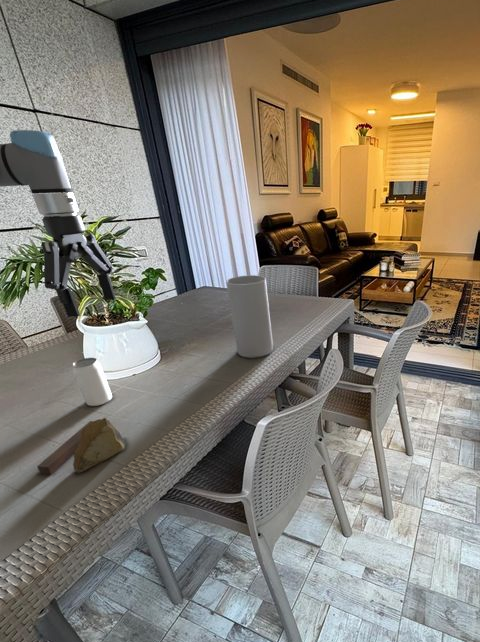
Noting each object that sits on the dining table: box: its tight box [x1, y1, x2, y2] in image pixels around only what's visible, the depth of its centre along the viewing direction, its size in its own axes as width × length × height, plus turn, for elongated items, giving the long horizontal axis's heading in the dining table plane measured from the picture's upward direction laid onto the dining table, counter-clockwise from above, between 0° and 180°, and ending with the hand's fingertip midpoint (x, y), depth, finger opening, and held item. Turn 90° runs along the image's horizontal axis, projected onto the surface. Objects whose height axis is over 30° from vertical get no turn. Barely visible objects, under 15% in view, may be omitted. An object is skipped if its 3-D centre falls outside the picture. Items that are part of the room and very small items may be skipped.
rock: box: [72, 417, 126, 474], centre depth 76 cm, size 11×9×10 cm
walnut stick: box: [36, 420, 94, 475], centre depth 80 cm, size 16×2×2 cm, turn 173°
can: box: [71, 357, 113, 407], centre depth 96 cm, size 6×6×12 cm
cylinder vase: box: [225, 274, 274, 359], centre depth 119 cm, size 12×12×25 cm
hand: (93, 307), depth 89 cm, fingers open, 13 cm apart
